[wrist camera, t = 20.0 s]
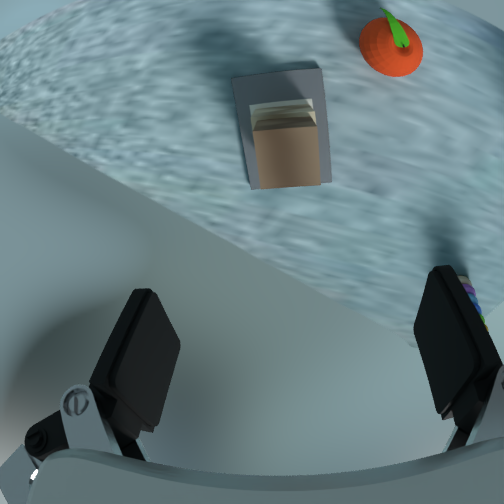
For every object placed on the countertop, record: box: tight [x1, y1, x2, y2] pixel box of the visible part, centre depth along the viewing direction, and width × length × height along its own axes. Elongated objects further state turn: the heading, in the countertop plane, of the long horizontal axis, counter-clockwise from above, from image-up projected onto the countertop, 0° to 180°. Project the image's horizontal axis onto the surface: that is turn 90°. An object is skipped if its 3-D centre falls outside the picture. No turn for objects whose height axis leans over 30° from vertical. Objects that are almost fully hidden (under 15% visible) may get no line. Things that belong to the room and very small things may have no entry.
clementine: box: [359, 8, 423, 77], centre depth 22 cm, size 8×7×7 cm
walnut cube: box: [253, 116, 321, 189], centre depth 25 cm, size 5×5×5 cm
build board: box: [231, 68, 332, 190], centre depth 32 cm, size 10×14×1 cm
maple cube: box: [251, 104, 316, 130], centre depth 29 cm, size 6×6×6 cm
